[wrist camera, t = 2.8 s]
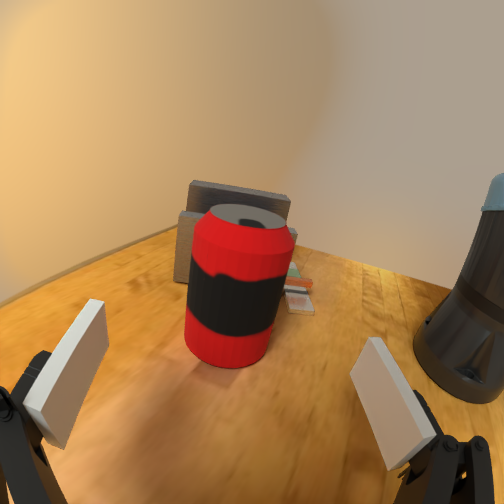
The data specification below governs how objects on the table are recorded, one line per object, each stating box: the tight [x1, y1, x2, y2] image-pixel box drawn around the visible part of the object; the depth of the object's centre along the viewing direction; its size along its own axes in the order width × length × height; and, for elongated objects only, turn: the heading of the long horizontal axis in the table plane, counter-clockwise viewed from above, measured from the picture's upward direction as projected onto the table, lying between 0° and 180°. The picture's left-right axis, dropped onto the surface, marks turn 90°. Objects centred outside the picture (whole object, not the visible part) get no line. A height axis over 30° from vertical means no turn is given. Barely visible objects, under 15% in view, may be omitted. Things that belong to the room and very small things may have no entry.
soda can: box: [184, 204, 295, 368], centre depth 23 cm, size 8×8×12 cm
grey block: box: [173, 211, 313, 296], centre depth 36 cm, size 17×7×8 cm, turn 93°
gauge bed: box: [186, 180, 315, 315], centre depth 37 cm, size 17×16×10 cm
